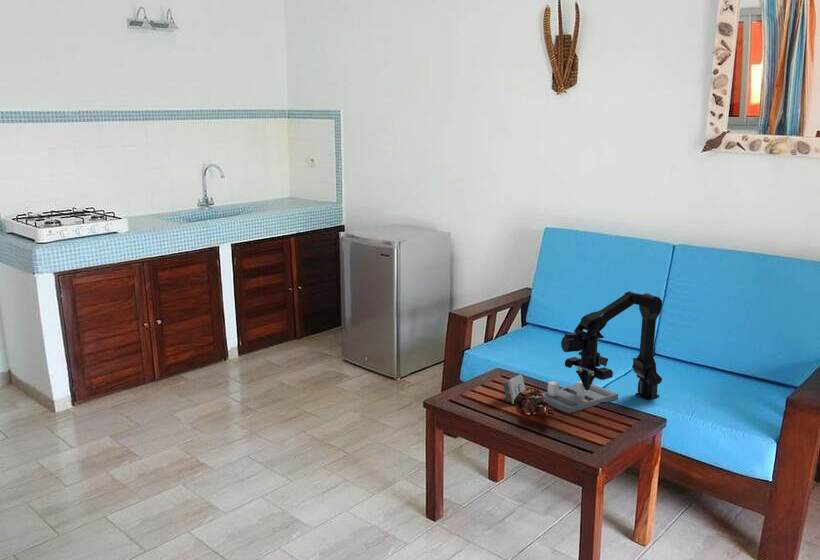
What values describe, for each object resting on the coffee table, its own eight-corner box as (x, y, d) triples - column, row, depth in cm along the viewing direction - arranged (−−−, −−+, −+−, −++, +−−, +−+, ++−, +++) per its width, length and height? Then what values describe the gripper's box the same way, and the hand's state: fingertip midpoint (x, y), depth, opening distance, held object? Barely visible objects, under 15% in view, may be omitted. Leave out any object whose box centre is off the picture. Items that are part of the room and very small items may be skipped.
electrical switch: (514, 406, 263) (513, 381, 261) (502, 403, 266) (501, 379, 265) (527, 398, 270) (526, 374, 268) (515, 396, 273) (514, 373, 272)
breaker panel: (617, 398, 270) (619, 381, 268) (568, 413, 256) (569, 395, 254) (586, 386, 283) (587, 369, 281) (537, 399, 269) (538, 381, 267)
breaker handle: (586, 399, 268) (587, 383, 266) (580, 401, 266) (581, 384, 265) (580, 397, 270) (581, 380, 269) (574, 398, 268) (575, 382, 267)
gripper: (624, 352, 258) (621, 393, 262) (585, 340, 273) (583, 378, 277) (603, 358, 252) (600, 399, 256) (564, 344, 267) (562, 384, 271)
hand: (586, 390), depth 265 cm, fingers closed
